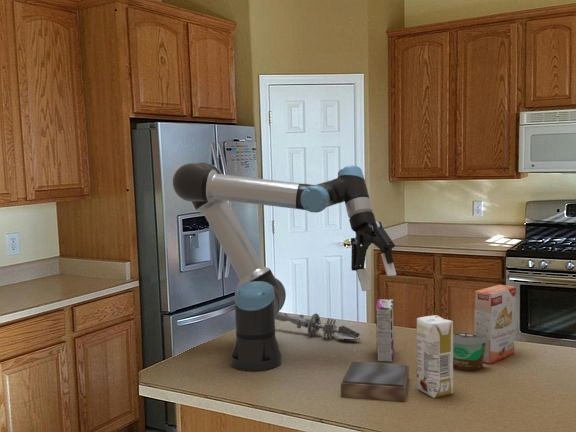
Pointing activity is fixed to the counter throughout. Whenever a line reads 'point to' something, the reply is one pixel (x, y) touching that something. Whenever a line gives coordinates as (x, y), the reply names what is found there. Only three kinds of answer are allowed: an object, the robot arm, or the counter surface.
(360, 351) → the counter surface
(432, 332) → the juice carton
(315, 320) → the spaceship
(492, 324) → the cracker box
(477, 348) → the food container
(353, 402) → the counter surface
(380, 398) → the grey brown square slab
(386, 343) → the candy bar box
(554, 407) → the counter surface
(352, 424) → the counter surface
